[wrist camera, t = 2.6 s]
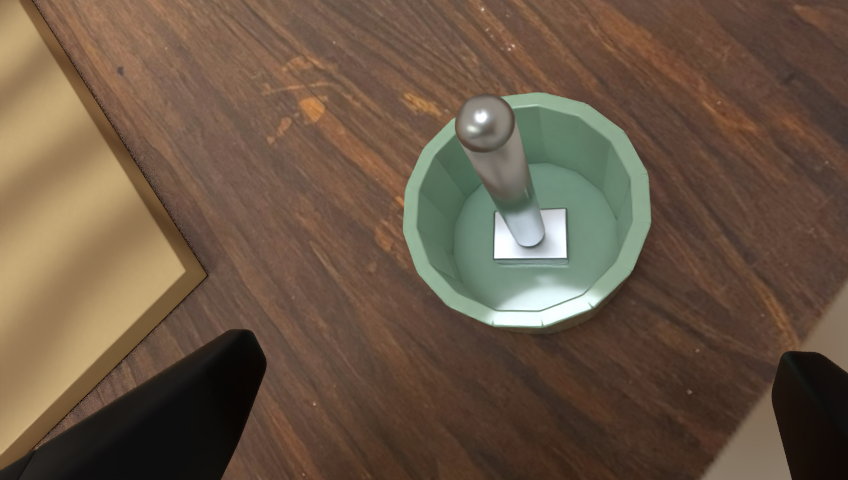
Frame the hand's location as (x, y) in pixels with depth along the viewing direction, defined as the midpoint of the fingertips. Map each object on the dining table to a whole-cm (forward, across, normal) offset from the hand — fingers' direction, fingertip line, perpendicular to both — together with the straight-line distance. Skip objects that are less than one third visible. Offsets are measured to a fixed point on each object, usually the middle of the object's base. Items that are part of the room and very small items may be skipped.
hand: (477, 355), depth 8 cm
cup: (+11, 0, +5) cm, 12 cm away
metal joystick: (+11, 0, +4) cm, 12 cm away
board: (+16, +37, 0) cm, 40 cm away
